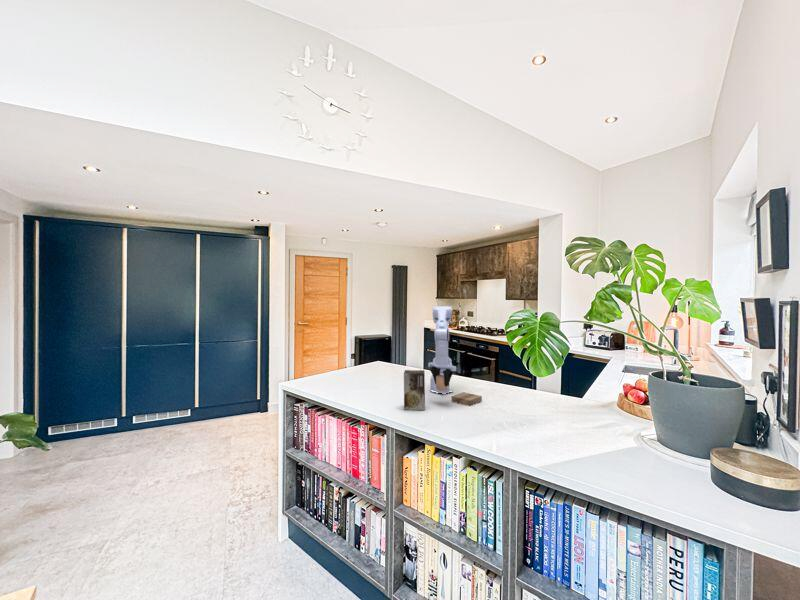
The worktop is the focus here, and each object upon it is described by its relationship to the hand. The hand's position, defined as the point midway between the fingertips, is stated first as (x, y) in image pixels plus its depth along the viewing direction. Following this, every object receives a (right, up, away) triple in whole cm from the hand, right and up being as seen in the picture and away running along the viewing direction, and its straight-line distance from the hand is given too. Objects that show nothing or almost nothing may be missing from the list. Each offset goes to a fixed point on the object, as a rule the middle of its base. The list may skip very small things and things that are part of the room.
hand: (441, 384), depth 160 cm
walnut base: (+12, -9, +4) cm, 16 cm away
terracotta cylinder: (0, -2, 0) cm, 2 cm away
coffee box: (-13, -9, -5) cm, 16 cm away
